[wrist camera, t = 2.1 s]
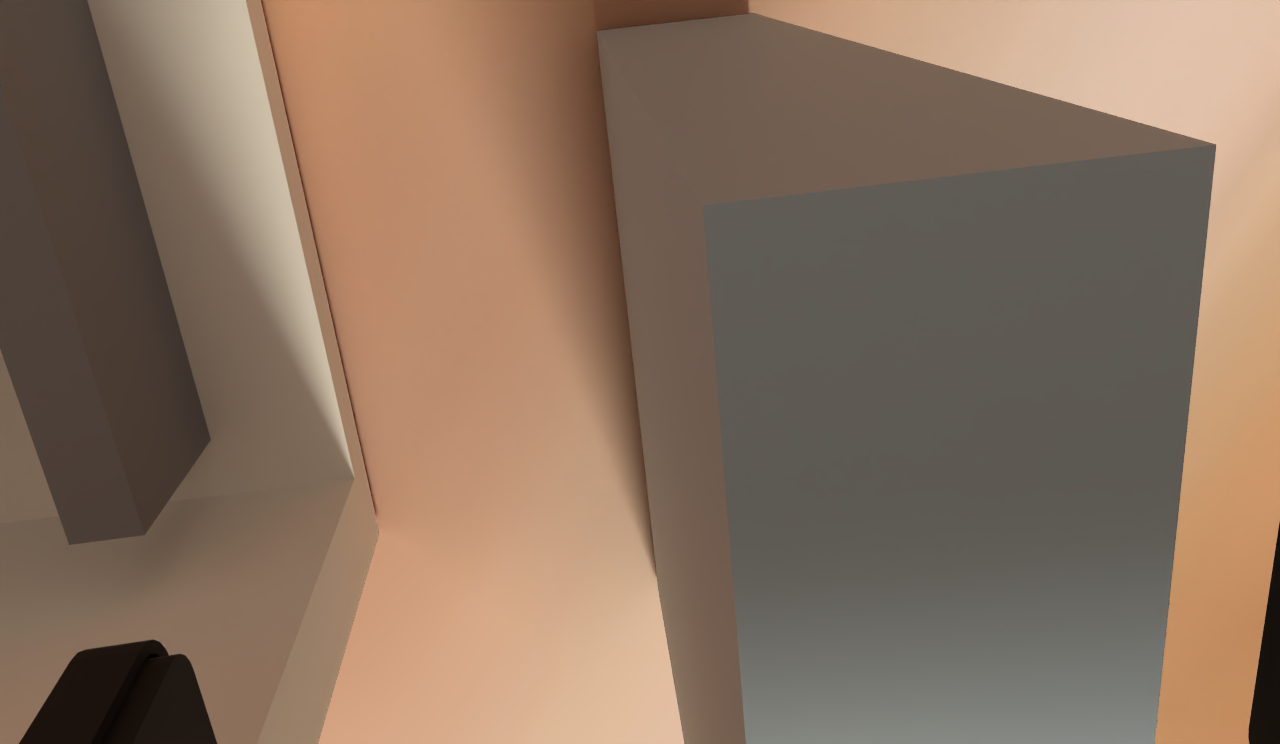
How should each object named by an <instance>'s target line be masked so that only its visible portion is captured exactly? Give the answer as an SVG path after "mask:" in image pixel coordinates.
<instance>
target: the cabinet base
mask: <svg viewBox="0 0 1280 744" xmlns="http://www.w3.org/2000/svg"><path fill="white" fill-rule="evenodd" d="M378 536H379V528H378V524H377V519H376V515H375V510H374V506H373V501H372V497H371V492H370V488H369V483H368V479H367V474H366V470H365V465H364V461H363V456H362V452H361V447H360V443H359V438H358V434H357V430H356V425H355V421H354V416H353V412H352V407H351V403H350V398H349V394H348V389H347V385H346V380H345V376H344V371H343V367H342V362H341V358H340V353H339V349H338V344H337V340H336V335H335V331H334V326H333V322H332V317H331V313H330V308H329V304H328V299H327V295H326V291H325V286H324V282H323V277H322V273H321V268H320V264H319V259H318V255H317V250H316V246H315V241H314V237H313V232H312V228H311V223H310V219H309V214H308V210H307V205H306V201H305V196H304V192H303V187H302V183H301V178H300V174H299V169H298V165H297V160H296V156H295V152H294V147H293V143H292V138H291V134H290V129H289V125H288V120H287V116H286V111H285V107H284V102H283V98H282V93H281V89H280V84H279V80H278V75H277V71H276V66H275V62H274V57H273V53H272V48H271V44H270V39H269V35H268V30H267V26H266V21H265V17H264V13H263V8H262V4H261V0H0V744H19V743H20V741H21V739H22V738H23V736H24V735H25V733H26V731H27V730H28V728H29V727H30V725H31V723H32V722H33V720H34V719H35V717H36V715H37V714H38V712H39V710H40V709H41V707H42V706H43V704H44V702H45V701H46V699H47V698H48V696H49V694H50V693H51V691H52V690H53V688H54V686H55V685H56V683H57V682H58V680H59V678H60V677H61V675H62V674H63V672H64V670H65V669H66V667H67V666H68V664H69V662H70V661H71V660H72V658H73V657H74V656H75V655H76V654H77V653H78V652H80V651H83V650H86V649H92V648H99V647H106V646H112V645H119V644H126V643H133V642H139V641H146V640H153V639H154V640H156V641H159V642H161V644H162V645H163V646H164V647H165V648H166V650H167V652H168V654H169V655H175V654H183V655H186V657H187V658H188V659H189V660H190V662H191V664H192V667H193V669H194V672H195V675H196V678H197V682H198V685H199V688H200V691H201V694H202V697H203V700H204V703H205V707H206V710H207V713H208V716H209V719H210V722H211V725H212V728H213V732H214V735H215V738H216V741H217V744H318V741H319V738H320V735H321V731H322V728H323V724H324V721H325V717H326V714H327V711H328V707H329V704H330V700H331V697H332V693H333V690H334V687H335V683H336V680H337V676H338V673H339V669H340V666H341V663H342V659H343V656H344V652H345V649H346V645H347V642H348V639H349V635H350V632H351V628H352V625H353V621H354V618H355V615H356V611H357V608H358V604H359V601H360V597H361V594H362V591H363V587H364V584H365V580H366V577H367V573H368V570H369V567H370V563H371V560H372V556H373V553H374V549H375V546H376V543H377V539H378Z"/></svg>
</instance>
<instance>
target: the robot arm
mask: <svg viewBox="0 0 1280 744" xmlns="http://www.w3.org/2000/svg"><path fill="white" fill-rule="evenodd" d="M1249 743H1250V744H1280V523H1279V530H1278V537H1277V543H1276V550H1275V557H1274V563H1273V570H1272V577H1271V583H1270V590H1269V597H1268V604H1267V610H1266V617H1265V624H1264V630H1263V637H1262V644H1261V650H1260V657H1259V664H1258V670H1257V677H1256V684H1255V690H1254V697H1253V704H1252V711H1251V717H1250V724H1249ZM19 744H217V741H216V738H215V735H214V732H213V728H212V725H211V722H210V719H209V716H208V713H207V710H206V707H205V703H204V700H203V697H202V694H201V691H200V688H199V685H198V682H197V678H196V675H195V672H194V669H193V667H192V664H191V662H190V660H189V659H188V658H187V657H186V655H183V654H175V655H169V654H168V652H167V650H166V648H165V647H164V646H163V645H162V644H161V642H159V641H156V640H154V639H153V640H146V641H139V642H133V643H126V644H119V645H112V646H106V647H99V648H92V649H86V650H83V651H80V652H78V653H77V654H76V655H75V656H74V657H73V658H72V660H71V661H70V662H69V664H68V666H67V667H66V669H65V670H64V672H63V674H62V675H61V677H60V678H59V680H58V682H57V683H56V685H55V686H54V688H53V690H52V691H51V693H50V694H49V696H48V698H47V699H46V701H45V702H44V704H43V706H42V707H41V709H40V710H39V712H38V714H37V715H36V717H35V719H34V720H33V722H32V723H31V725H30V727H29V728H28V730H27V731H26V733H25V735H24V736H23V738H22V739H21V741H20V743H19Z"/></svg>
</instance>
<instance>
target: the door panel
mask: <svg viewBox="0 0 1280 744" xmlns="http://www.w3.org/2000/svg"><path fill="white" fill-rule="evenodd" d="M596 35H597V44H598V53H599V62H600V71H601V80H602V89H603V98H604V107H605V116H606V125H607V134H608V143H609V151H610V160H611V169H612V178H613V187H614V196H615V205H616V214H617V223H618V232H619V241H620V250H621V259H622V268H623V277H624V286H625V295H626V304H627V313H628V322H629V331H630V340H631V349H632V358H633V367H634V376H635V385H636V394H637V403H638V412H639V421H640V430H641V439H642V448H643V457H644V466H645V475H646V483H647V492H648V501H649V510H650V519H651V528H652V537H653V546H654V555H655V564H656V573H657V582H658V591H659V597H660V603H661V609H662V614H663V620H664V626H665V632H666V638H667V644H668V650H669V655H670V661H671V667H672V673H673V679H674V685H675V691H676V696H677V702H678V708H679V714H680V720H681V726H682V732H683V737H684V743H685V744H1155V735H1156V725H1157V715H1158V706H1159V696H1160V686H1161V676H1162V667H1163V657H1164V647H1165V638H1166V628H1167V618H1168V608H1169V599H1170V589H1171V579H1172V570H1173V560H1174V550H1175V540H1176V531H1177V521H1178V511H1179V501H1180V492H1181V482H1182V472H1183V463H1184V453H1185V443H1186V433H1187V424H1188V414H1189V404H1190V394H1191V385H1192V375H1193V365H1194V356H1195V346H1196V336H1197V326H1198V317H1199V307H1200V297H1201V288H1202V278H1203V268H1204V258H1205V249H1206V239H1207V229H1208V219H1209V210H1210V200H1211V190H1212V181H1213V171H1214V161H1215V151H1216V144H1212V143H1209V142H1205V141H1202V140H1198V139H1195V138H1191V137H1188V136H1184V135H1180V134H1177V133H1173V132H1170V131H1166V130H1163V129H1159V128H1156V127H1152V126H1149V125H1145V124H1142V123H1138V122H1135V121H1131V120H1128V119H1124V118H1121V117H1117V116H1114V115H1110V114H1107V113H1103V112H1099V111H1096V110H1092V109H1089V108H1085V107H1082V106H1078V105H1075V104H1071V103H1068V102H1064V101H1061V100H1057V99H1054V98H1050V97H1047V96H1043V95H1040V94H1036V93H1033V92H1029V91H1025V90H1022V89H1018V88H1015V87H1011V86H1008V85H1004V84H1001V83H997V82H994V81H990V80H987V79H983V78H980V77H976V76H973V75H969V74H966V73H962V72H959V71H955V70H951V69H948V68H944V67H941V66H937V65H934V64H930V63H927V62H923V61H920V60H916V59H913V58H909V57H906V56H902V55H899V54H895V53H892V52H888V51H885V50H881V49H877V48H874V47H870V46H867V45H863V44H860V43H856V42H853V41H849V40H846V39H842V38H839V37H835V36H832V35H828V34H825V33H821V32H818V31H814V30H811V29H807V28H804V27H800V26H796V25H793V24H789V23H786V22H782V21H779V20H775V19H772V18H768V17H765V16H761V15H758V14H754V13H750V14H741V15H732V16H723V17H715V18H706V19H697V20H688V21H679V22H670V23H661V24H652V25H643V26H634V27H625V28H616V29H607V30H598V31H596Z"/></svg>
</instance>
